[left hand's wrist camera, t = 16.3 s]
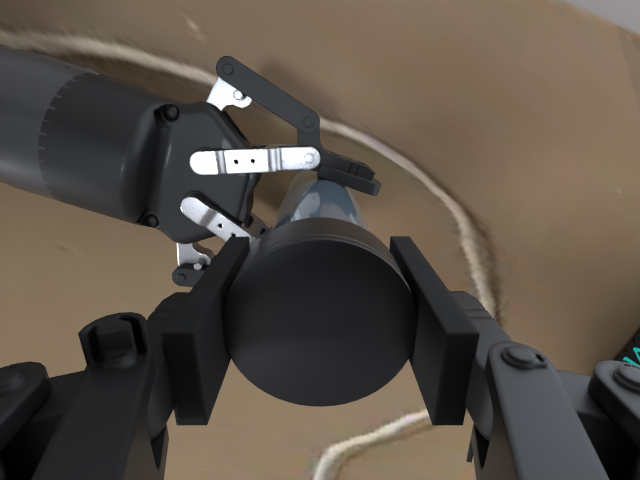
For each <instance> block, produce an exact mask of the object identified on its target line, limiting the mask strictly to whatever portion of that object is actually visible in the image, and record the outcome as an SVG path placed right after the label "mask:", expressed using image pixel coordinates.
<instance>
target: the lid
mask: <svg viewBox="0 0 640 480" xmlns="http://www.w3.org/2000/svg"><path fill="white" fill-rule="evenodd" d="M417 321H418V314H417V308H416V304H415V300H414V297H413V294H412V292H411V290H410V288H409V286H408V284H407V282H406V280H405V278H404V276H403V275H402V273H401V271H400V269H399V267H398V265H397V263H396V261H395V259H394V257H393V255H392V254H391V252H390V251H389V250H388V248H387V247H386V246H385V245H384V244H383V243H382V242H381V241H380V240H379V239H378V238H377V237H376V236H375V235H373V234H372V233H371V232H369V231H367V230H366V229H364V228H362V227H360V226H358V225H356V224H354V223H351V222H348V221H344V220H341V219H335V218H329V217H313V218H304V219H299V220H295V221H292V222H289V223H286V224H284V225H282V226H280V227H278V228H276V229H274V230H272V231H271V232H269V233H268V234H267V235H265V236H264V237H263V238H262V239H261V240H260V241H258V242H257V243H256V244H255V246H254V247H253V248H252V249H251V251H250V252H249V254H248V255H247V257H246V259H245V260H244V262H243V264H242V266H241V268H240V270H239V272H238V274H237V276H236V278H235V280H234V281H233V284H232V285H231V287H230V289H229V292H228V294H227V297H226V299H225V303H224V307H223V312H222V324H223V334H224V341H225V345H226V348H227V350H228V353H229V355H230V357H231V359H232V360H233V362H234V364H235V365H236V366H237V368H238V369H239V370H240V372H241V373H242V374H243V375H244V376H245V377H246V378H247V379H248V380H249V381H250V382H251V383H253V384H254V385H255V386H256V387H258V388H259V389H261V390H263V391H264V392H266V393H268V394H270V395H272V396H274V397H276V398H278V399H281V400H284V401H287V402H290V403H295V404H299V405H306V406H335V405H340V404H346V403H349V402H353V401H356V400H359V399H361V398H364V397H366V396H368V395H370V394H372V393H374V392H376V391H377V390H379V389H380V388H382V387H383V386H385V385H386V384H387V383H388V382H389V381H391V380H392V379H393V378H394V377H395V376H396V375H397V374H398V372H399V371H400V370H401V369H402V368H403V366H404V365H405V363H406V362H407V360H408V358H409V356H410V354H411V352H412V350H413V347H414V344H415V340H416V331H417Z"/></svg>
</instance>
